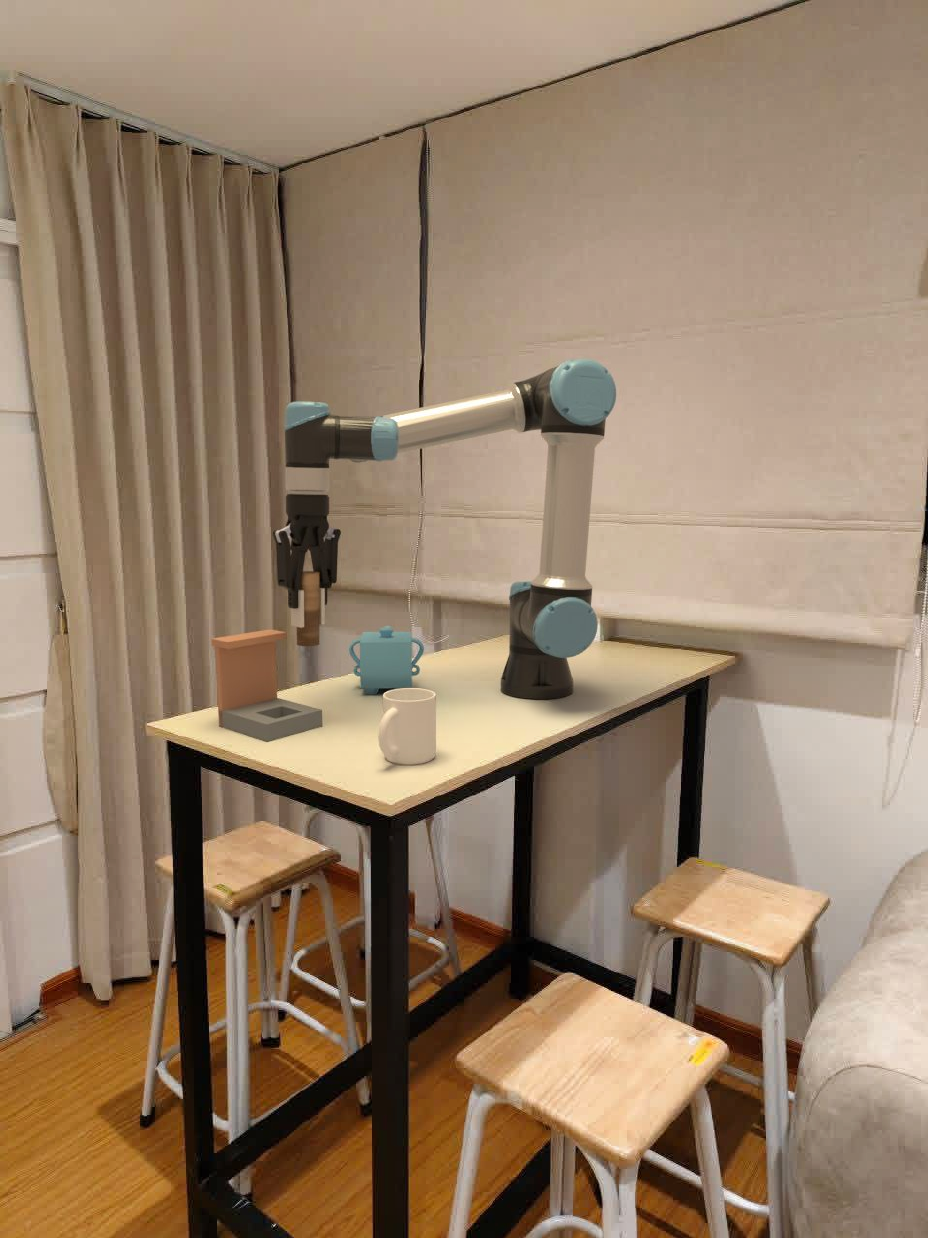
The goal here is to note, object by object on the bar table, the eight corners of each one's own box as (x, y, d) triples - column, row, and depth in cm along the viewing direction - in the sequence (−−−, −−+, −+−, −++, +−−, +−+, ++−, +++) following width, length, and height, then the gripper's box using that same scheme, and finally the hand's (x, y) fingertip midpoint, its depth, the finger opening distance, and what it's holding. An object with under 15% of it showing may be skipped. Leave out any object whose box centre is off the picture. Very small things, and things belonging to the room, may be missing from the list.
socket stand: (323, 725, 153) (321, 638, 150) (265, 742, 143) (262, 649, 140) (273, 711, 162) (270, 629, 159) (215, 725, 152) (211, 638, 150)
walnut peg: (323, 644, 154) (323, 572, 152) (306, 647, 151) (305, 574, 149) (310, 641, 156) (310, 570, 154) (292, 643, 154) (291, 571, 151)
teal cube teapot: (424, 695, 174) (424, 633, 172) (347, 696, 173) (346, 633, 171) (422, 675, 192) (422, 618, 190) (353, 676, 191) (351, 619, 189)
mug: (402, 776, 127) (401, 709, 125) (358, 766, 131) (357, 701, 129) (446, 754, 137) (445, 692, 135) (403, 746, 141) (403, 685, 139)
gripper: (331, 492, 158) (331, 617, 162) (253, 492, 145) (255, 627, 149) (358, 493, 153) (357, 622, 157) (280, 493, 141) (281, 633, 144)
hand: (308, 624), depth 153 cm, fingers closed on walnut peg, 4 cm apart
